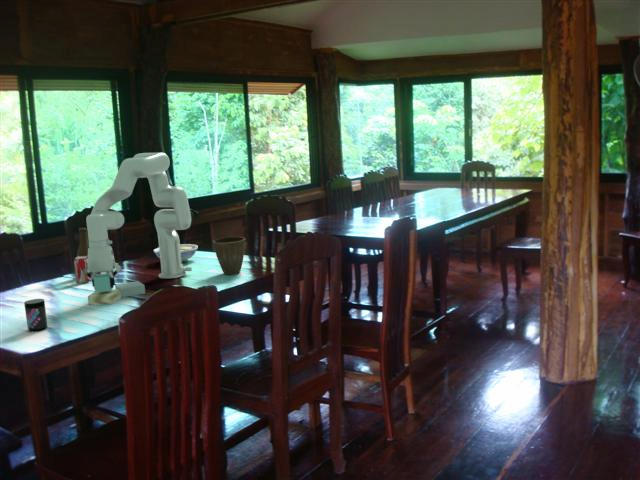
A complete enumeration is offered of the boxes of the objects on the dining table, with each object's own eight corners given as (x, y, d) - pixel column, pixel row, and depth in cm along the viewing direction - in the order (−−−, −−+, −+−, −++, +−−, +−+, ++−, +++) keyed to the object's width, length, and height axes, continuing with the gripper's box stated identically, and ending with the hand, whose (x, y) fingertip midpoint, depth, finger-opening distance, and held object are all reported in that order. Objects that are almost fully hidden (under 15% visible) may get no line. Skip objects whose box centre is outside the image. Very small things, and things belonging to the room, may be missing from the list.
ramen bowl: (194, 265, 343) (192, 249, 341) (149, 268, 343) (147, 252, 342) (203, 256, 367) (202, 241, 366) (161, 258, 368) (159, 243, 366)
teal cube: (113, 287, 283) (111, 273, 282) (110, 291, 277) (108, 276, 276) (98, 288, 283) (97, 274, 282) (95, 292, 277) (93, 277, 276)
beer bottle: (80, 279, 326) (75, 230, 322) (78, 276, 332) (72, 228, 328) (97, 277, 329) (92, 228, 325) (94, 274, 336) (89, 226, 332)
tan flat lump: (121, 298, 286) (120, 289, 285) (113, 304, 276) (112, 295, 275) (98, 299, 286) (96, 290, 285) (89, 305, 276) (87, 296, 276)
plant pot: (227, 278, 309) (224, 243, 307) (209, 274, 321) (206, 240, 318) (254, 272, 319) (251, 238, 316) (235, 268, 330) (233, 235, 327)
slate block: (139, 289, 299) (138, 280, 299) (145, 294, 291) (144, 285, 290) (116, 293, 294) (115, 284, 294) (121, 298, 286) (120, 288, 285)
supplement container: (25, 329, 246) (21, 301, 244) (44, 325, 250) (40, 297, 248) (31, 333, 241) (27, 304, 239) (50, 328, 245) (47, 300, 243)
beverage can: (86, 284, 315) (83, 258, 313) (74, 284, 317) (70, 258, 315) (93, 280, 321) (90, 255, 319) (81, 281, 323) (78, 256, 321)
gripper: (122, 241, 281) (127, 283, 284) (79, 244, 280) (85, 287, 283) (118, 244, 274) (123, 288, 277) (74, 247, 273) (80, 291, 276)
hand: (104, 287), depth 280 cm, fingers closed on teal cube, 5 cm apart
